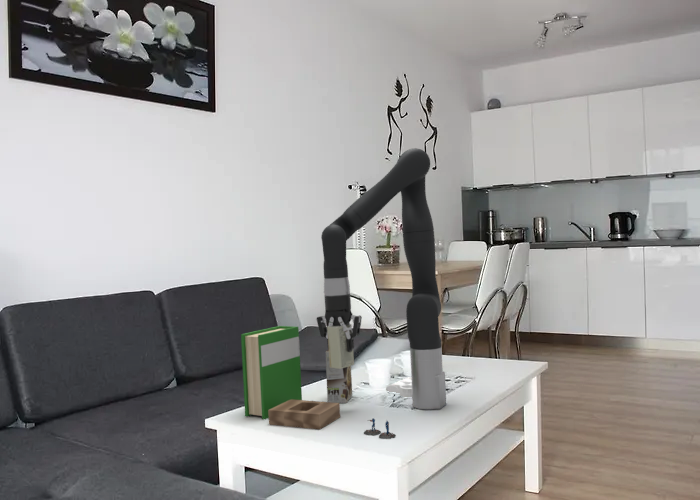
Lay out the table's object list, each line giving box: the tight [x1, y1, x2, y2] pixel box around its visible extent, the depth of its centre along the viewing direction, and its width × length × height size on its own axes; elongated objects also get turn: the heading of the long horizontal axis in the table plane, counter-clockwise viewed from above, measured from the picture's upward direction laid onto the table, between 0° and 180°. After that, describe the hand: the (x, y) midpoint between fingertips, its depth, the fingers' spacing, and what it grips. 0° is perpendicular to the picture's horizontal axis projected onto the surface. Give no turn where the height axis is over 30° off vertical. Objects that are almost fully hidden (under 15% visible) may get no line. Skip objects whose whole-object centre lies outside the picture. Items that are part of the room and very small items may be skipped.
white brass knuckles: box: [385, 376, 412, 397], centre depth 202 cm, size 3×18×15 cm
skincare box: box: [326, 323, 355, 369], centre depth 182 cm, size 6×4×12 cm
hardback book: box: [240, 325, 303, 420], centre depth 187 cm, size 18×7×24 cm, turn 147°
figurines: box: [363, 417, 397, 440], centre depth 159 cm, size 10×5×4 cm, turn 46°
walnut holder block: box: [268, 399, 341, 430], centre depth 174 cm, size 16×12×4 cm
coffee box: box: [325, 349, 353, 404], centre depth 196 cm, size 9×6×16 cm
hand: (340, 351), depth 182 cm, fingers closed on skincare box, 5 cm apart
